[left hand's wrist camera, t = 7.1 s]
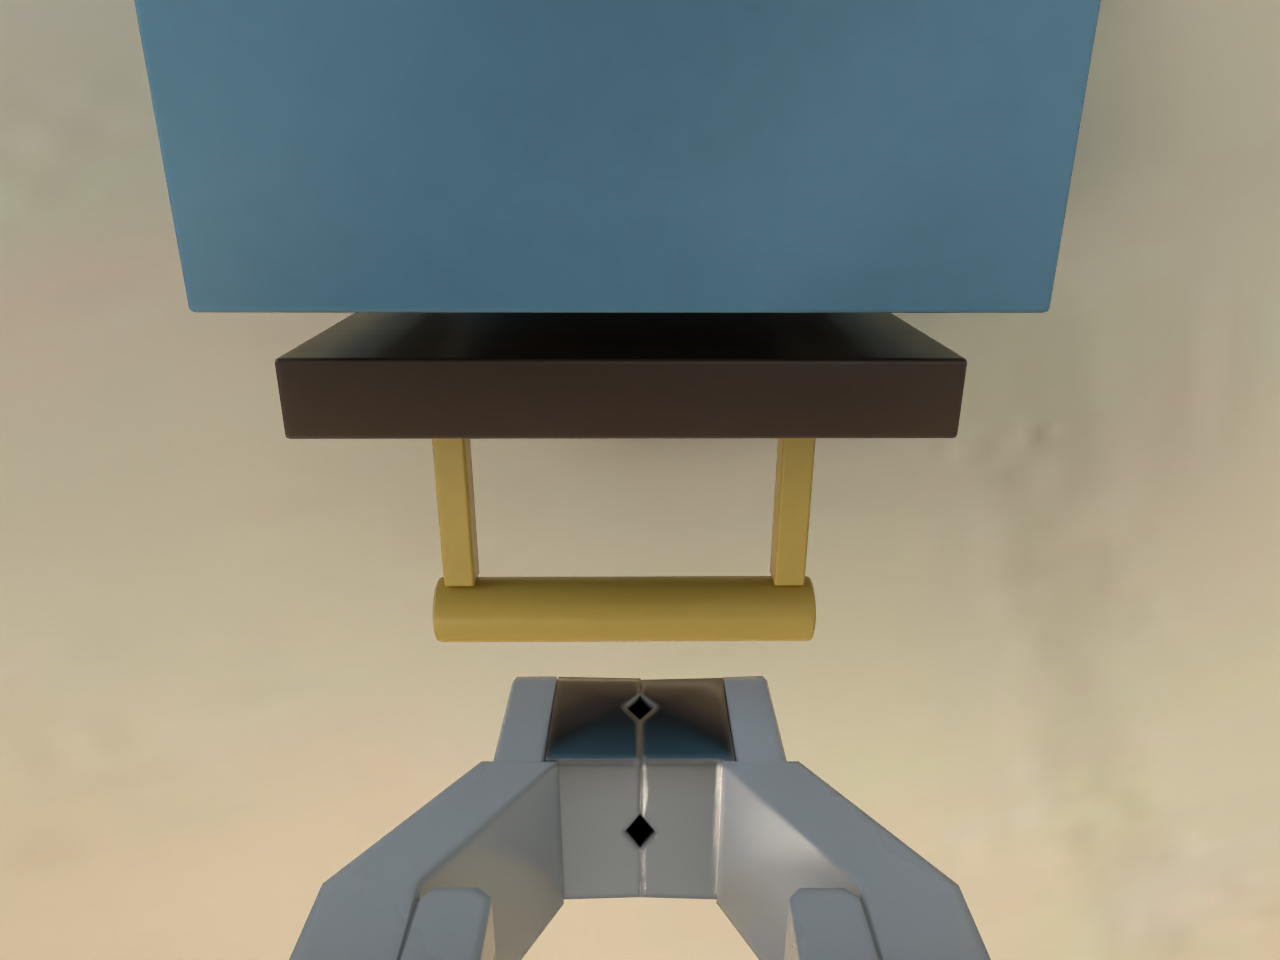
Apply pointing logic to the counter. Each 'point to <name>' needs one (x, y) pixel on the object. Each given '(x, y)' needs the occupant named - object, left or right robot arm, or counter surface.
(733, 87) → the cabinet
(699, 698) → the left robot arm
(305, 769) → the counter surface
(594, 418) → the drawer
